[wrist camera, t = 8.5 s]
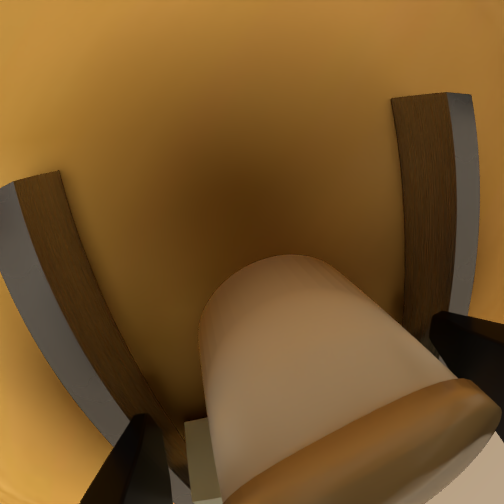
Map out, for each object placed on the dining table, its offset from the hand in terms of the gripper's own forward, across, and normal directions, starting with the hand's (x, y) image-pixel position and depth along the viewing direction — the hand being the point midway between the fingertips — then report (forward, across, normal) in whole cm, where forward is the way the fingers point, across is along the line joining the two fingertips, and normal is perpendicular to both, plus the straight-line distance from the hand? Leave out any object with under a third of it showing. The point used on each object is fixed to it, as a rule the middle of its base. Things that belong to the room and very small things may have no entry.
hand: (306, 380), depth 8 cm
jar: (+2, 0, 0) cm, 2 cm away
